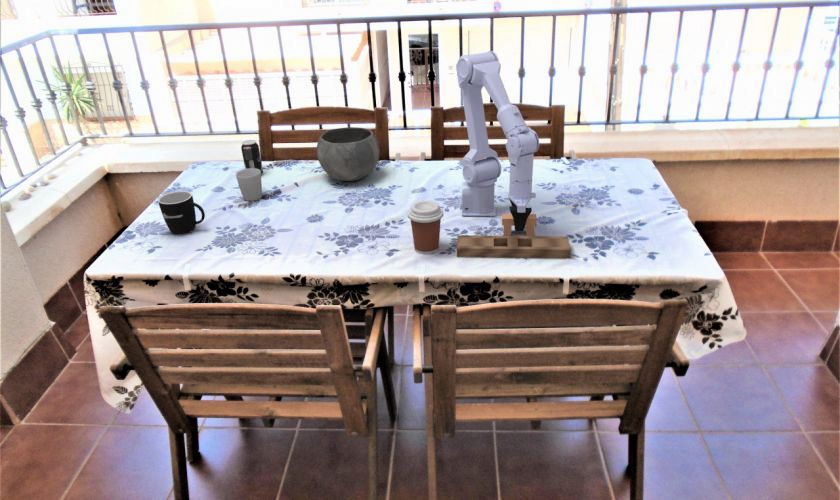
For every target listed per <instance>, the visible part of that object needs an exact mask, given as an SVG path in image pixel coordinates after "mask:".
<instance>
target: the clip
mask: <svg viewBox="0 0 840 500" xmlns="http://www.w3.org/2000/svg"><path fill="white" fill-rule="evenodd" d="M537 222H538V218H537V213H530V215H529V216H528V218H527V221H526V225H525V236H535V227H537ZM501 226H502V227H503V228H502V229H503V236H512V228H513V226H514V220H513V216H512V214H511V213H502V214H501Z"/></svg>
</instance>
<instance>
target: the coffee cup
mask: <svg viewBox="0 0 840 500" xmlns="http://www.w3.org/2000/svg"><path fill="white" fill-rule="evenodd" d="M443 217H444V210H443V209H442V207H440V205H439V203H437V202H435V201H433V200H419V201H416V202H414V203H413V204H412V205H411V206H410V208H409V210H407V218H408V219H409V220H410V224H411V233H412V238H413V239H412V240H413V247H414V251H415V252H416V253H418V254H422V255H430V254H434V253H437V252H438V251H439V249H440V237H441V236H440V234H441V219H442V218H443Z"/></svg>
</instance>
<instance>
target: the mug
mask: <svg viewBox="0 0 840 500" xmlns="http://www.w3.org/2000/svg"><path fill="white" fill-rule="evenodd" d="M158 206H159V208H160V211H161V214H162V217H163V220H164V222H165V224H166V227H167V228H168V230H169V231H170V233H172V234H173V235H176V234H182V235H187V234H189V232H190V233H191V231H192V232H193V231H194V230H195V228H196V226H197V225H199V224H202V222H203V221H204V220H205V218H206V213H205V209H204V208H203V207H202V206H201V205H200V204H199V203H196V202H194V196H193V194H192V192H189V191H186V190H185V191H184V190H181V191H179V190H177V191H171V192H168V193H165V194H163V195H162V196H160V197H158ZM196 208H197V209H198V210H199V211H200V213H201V218H200V220H197V216H196ZM186 233H187V234H186Z"/></svg>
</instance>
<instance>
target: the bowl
mask: <svg viewBox="0 0 840 500" xmlns="http://www.w3.org/2000/svg"><path fill="white" fill-rule="evenodd" d="M380 152H381V151H380V146H379V141H378V139H377V137H376V135H375V133H374V132H373V131H372V130H370V129H369V128H365V127H359V126H358V127H356V126H355V127H354V126H352V127H349V126H348V127H339V128H333V129H329V130H326V131H325V132H323V133H322V134H321V135H320V136H319V138H318V140H317V145H316V155H317V156H316V157H317V160H318V163H319V164H320V167H321V168H322V170H323V171H324V172H325V173H326V174H327V175H328V176H330V177H331V178H333V179H334V180H337V181H342V182H354V181H358V180H361V179H363V178H365V177H367V176H368V175H369V174H370V173H372V172H373V171H374V169H375V168H376V166H377V164H378V161H379V159H380Z"/></svg>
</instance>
